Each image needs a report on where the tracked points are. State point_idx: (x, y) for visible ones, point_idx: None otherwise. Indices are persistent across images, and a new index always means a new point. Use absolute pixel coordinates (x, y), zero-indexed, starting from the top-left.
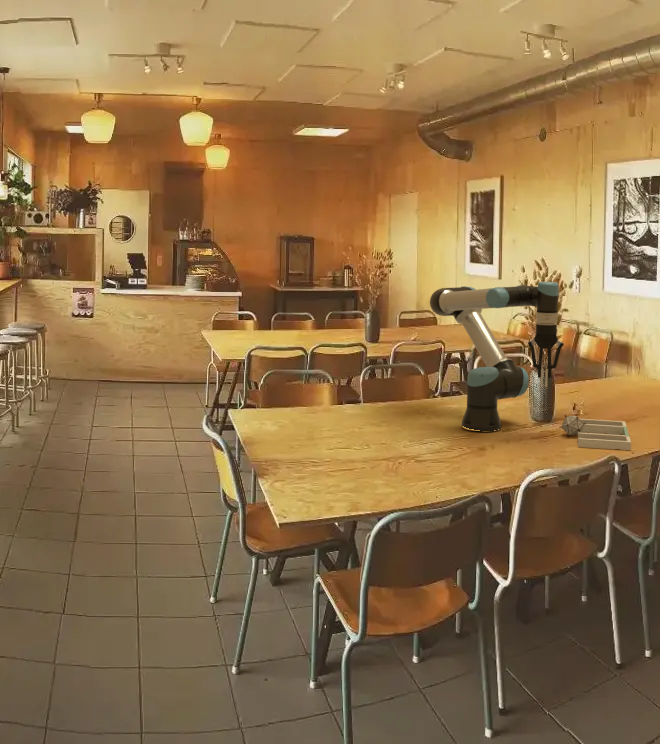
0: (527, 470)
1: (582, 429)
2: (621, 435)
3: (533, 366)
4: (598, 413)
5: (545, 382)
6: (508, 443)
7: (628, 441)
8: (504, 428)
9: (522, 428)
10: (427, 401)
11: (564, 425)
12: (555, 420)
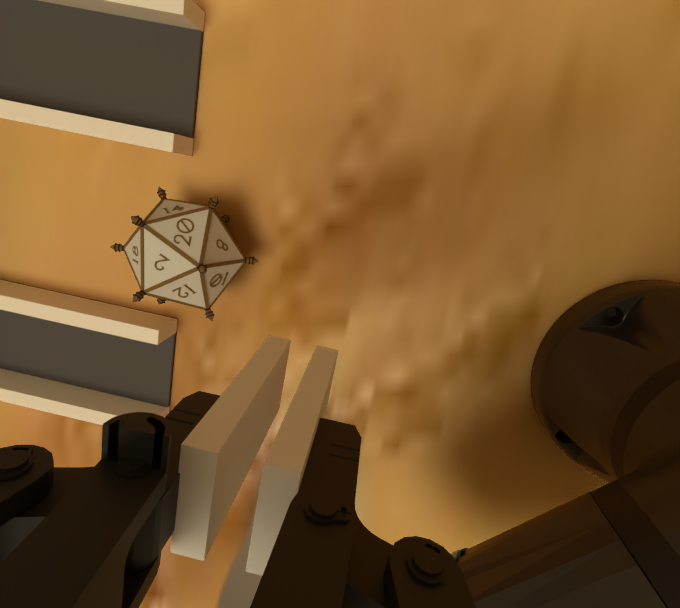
0: None
1: (149, 317)
2: None
3: (453, 560)
4: None
5: (275, 358)
6: (568, 53)
7: None
8: (511, 371)
9: (421, 373)
10: None
11: (227, 236)
12: (247, 508)
